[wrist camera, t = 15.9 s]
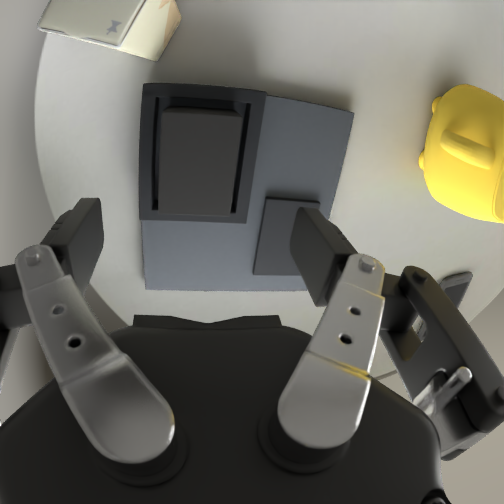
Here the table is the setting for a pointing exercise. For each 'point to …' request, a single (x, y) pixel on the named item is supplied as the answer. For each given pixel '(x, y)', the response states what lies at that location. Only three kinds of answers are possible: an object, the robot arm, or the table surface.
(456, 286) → the cell phone
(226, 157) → the black block
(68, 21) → the box
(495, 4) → the table surface
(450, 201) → the teapot
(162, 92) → the base pad
